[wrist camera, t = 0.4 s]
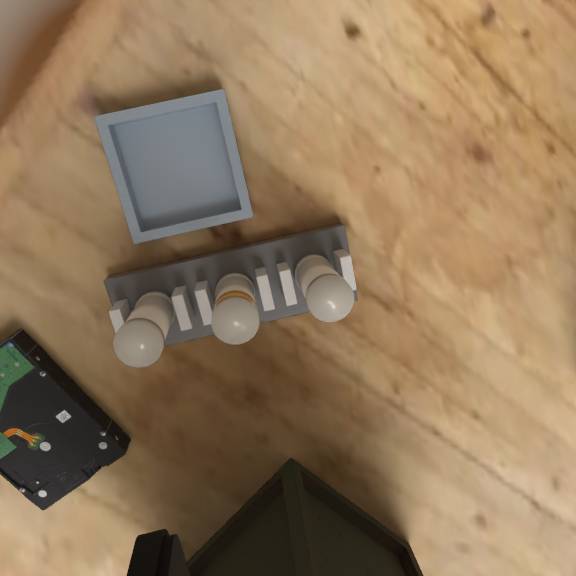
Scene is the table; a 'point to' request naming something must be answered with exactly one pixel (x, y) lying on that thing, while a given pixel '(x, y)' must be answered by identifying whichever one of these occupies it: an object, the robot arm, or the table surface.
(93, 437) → the disk drive
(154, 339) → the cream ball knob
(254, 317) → the cylinder
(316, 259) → the domed white capsule
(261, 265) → the fuse holder
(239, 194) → the tray
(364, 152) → the table surface
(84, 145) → the table surface
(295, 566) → the first aid box
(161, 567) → the robot arm
